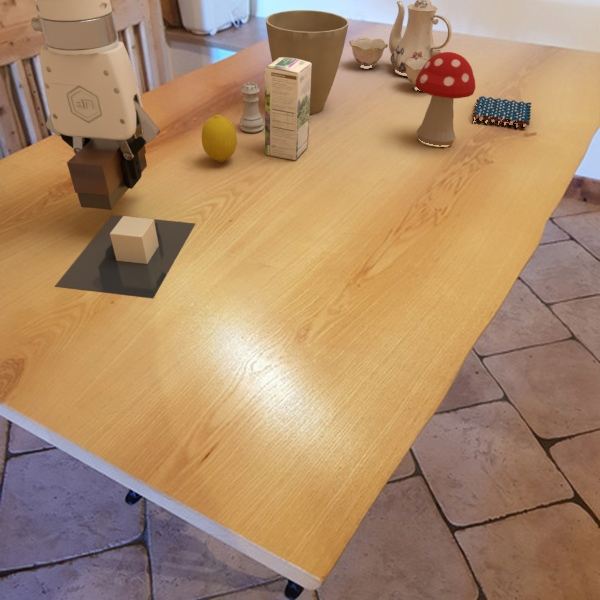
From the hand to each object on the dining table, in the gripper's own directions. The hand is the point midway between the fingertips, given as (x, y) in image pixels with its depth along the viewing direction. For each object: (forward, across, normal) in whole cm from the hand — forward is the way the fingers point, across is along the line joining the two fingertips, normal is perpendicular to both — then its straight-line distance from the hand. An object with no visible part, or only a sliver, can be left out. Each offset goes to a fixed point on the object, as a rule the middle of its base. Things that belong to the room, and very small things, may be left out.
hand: (114, 180), depth 72 cm
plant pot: (+7, +18, +46) cm, 50 cm away
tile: (+6, +4, -8) cm, 11 cm away
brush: (+1, 0, 0) cm, 1 cm away
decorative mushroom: (+7, +43, +35) cm, 56 cm away
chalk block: (+5, +5, -8) cm, 11 cm away
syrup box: (+7, +18, +26) cm, 33 cm away
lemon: (+7, +8, +20) cm, 23 cm away
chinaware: (+7, +37, +70) cm, 80 cm away
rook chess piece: (+7, +10, +34) cm, 36 cm away
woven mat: (+7, +56, +49) cm, 75 cm away
